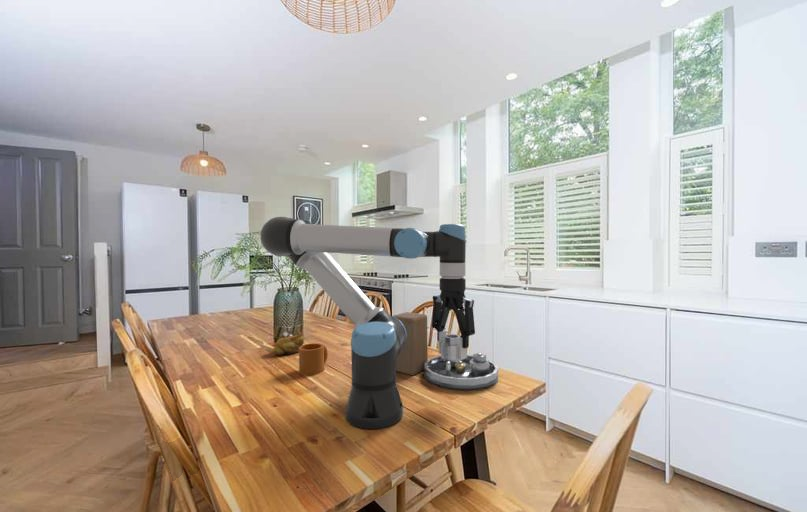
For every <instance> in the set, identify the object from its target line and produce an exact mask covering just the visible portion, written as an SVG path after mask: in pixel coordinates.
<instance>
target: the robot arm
mask: <svg viewBox="0 0 807 512" xmlns="http://www.w3.org/2000/svg"><path fill="white" fill-rule="evenodd" d="M259 238H260V242H261V245H262V247H263V248H264V250H266V251H267V252H268V253H270V254H271V255H274V256H277V257H288V258H289V259H290V261H291V262H292V263H293V264H294V265H295V267H297V268H298V269H305V270H306V271H307V272H308V274H309V275H310V276H311V277H312V278H313V280H314V281H315V282H316V283H317V284H318V286H320V288H321V289H322V290H323V291H324V292H325V293H326V294H327V296H328V297H329V298H330V299H331V301H333V303H335V305H336V306H337V307H338V308H339V309H340V310H341V312H342V314H344V316H346V318H347V319H349V321H350V322H351V323H352V325H354V329H353V330H352V332H351V340H350V348H351V349H350V351H351V390H350V393H349V396H348V399H347V403H346V405H345V420H346V421H347V423H349V424H350V425H351V426H353V427H356V428H359V429H366V430H377V429H384V428H388V427H390V426H391V427H392V426H393V425H395V424H397V423H398V422H400V420H401V419H402V418H403V416H404V405H403V402H402V398H401V395H400V393H399V389H398V386H397V371H396V358H397V357H398V355H399V353H400V352H401V351H402V350H403V348H404V346H405V343H406V336H407V335H406V329H405V327H404V325H403V324H402V322H401V321H400V320H398V319H397V318H395V317H392V316H391V315H390V313H389V312H388V311H387V310H386V309H385V308H384V307H383V306H382V307H381V306H380V307H379V306H376V305H375V304H374V303H373V302H372V300H370V298H369V297H368V296H367V295H366V294H365V292H363V290H361V288H360V287H359V286H358V285H357V284H356V283H355V281H354V280H353V279H352V278H351V277H350V276H349V275H348V274H347V272H346V271H344V269H343V268H342V266H341V265H339V263H338V262H337V261H336V260H335V259H334V258H333V257H332V255H330V254H342V255H343V254H345V255H362V256H375V257H392V258H403V259H404V258H405V259H408V260H410V259H417V258H439V274H438V275H439V276H440V278H439V291H440V295H439V294H438V295H433V296H432V302H433V307H432V319H431V320H432V321H431V327H432V329H435V330H436V333H437V335H436V337H437V342H438V354H439V355H441V342H442V341H445V335H448V334H447V329H446V324H447V322H448V317H449V315H450V311H453V313H454V315H455V317H456V321H457V324H458V327H459V332H460V336H459V360H463V359H465V358H467V355H468V354H467V353H468V348H469V345H470V343H469V342H470V341H469V340H470V336H474V335H476V330H475V329H476V328H475V326H476V325H475V318H474V306H475V305H474V304H475V300H474V299H469V298H466V294H465V291H466V288H467V285H466V284H467V283H466V280H467V279H466V278H464V277H465V276H466V249H467V248H466V246H467V240H466V228H465V226H464V225H463V224H461V223H460V224H459V223H447V224H446V223H445V224H441V225H440V226H439V229H438V230H436V231H421V230H419V229H418V228H414V227H413V228H412V227H406V228H397V227H395V228H394V227H379V226H359V225H358V226H355V225H354V226H353V225H335V224H314V223H312V222H311V221H308V220H306V219H301V218H299V219H296V218H291V217H287V216H275V217H272V218H270V219H269V220H267V222H265V223H264V224H263V226H262V228H261V230H260V237H259Z"/></svg>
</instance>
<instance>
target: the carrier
mask: <svg viewBox="0 0 807 512" xmlns="http://www.w3.org/2000/svg"><path fill="white" fill-rule="evenodd" d="M423 371H424V372H423V374H424V378H425V380H426V381H428V383H430V384H431V385H435V386H437V387H439V388H442V389H447V390H453V391H480V390H484V389H488V388H490V387H492V386H495V384H497V383H498V381H499V367H498V365H497V364H496V362H494V361H491V360H490V359H488V358H487V355H486V354H484V353H481V352H477V353H473V354H472V355H470V354H467V358H465V359H463V360H448V359H445V358H441V355H436V356H433V357H431V358H428V360H427V361H426V362H425V369H424V370H423Z"/></svg>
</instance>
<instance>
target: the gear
mask: <svg viewBox="0 0 807 512" xmlns="http://www.w3.org/2000/svg"><path fill="white" fill-rule="evenodd" d="M459 336H461V334H460V335H459V334H454V333H453V334H450V333H448V334H447V335H445V341H442V342H441V354H440V356H441V358H445V359H448V360H459Z"/></svg>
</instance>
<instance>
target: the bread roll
mask: <svg viewBox="0 0 807 512" xmlns="http://www.w3.org/2000/svg"><path fill="white" fill-rule="evenodd" d="M302 345H305V339H304V335H303V334H300V333H299V334H296V335H294V336H293V335H290V336H287V337H281V338H278V339H277V340H276V342H275V346H274V347H273V349H272V353H273V355H274V356H285V355H294V354H297V353H299V347H300V346H302Z"/></svg>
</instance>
